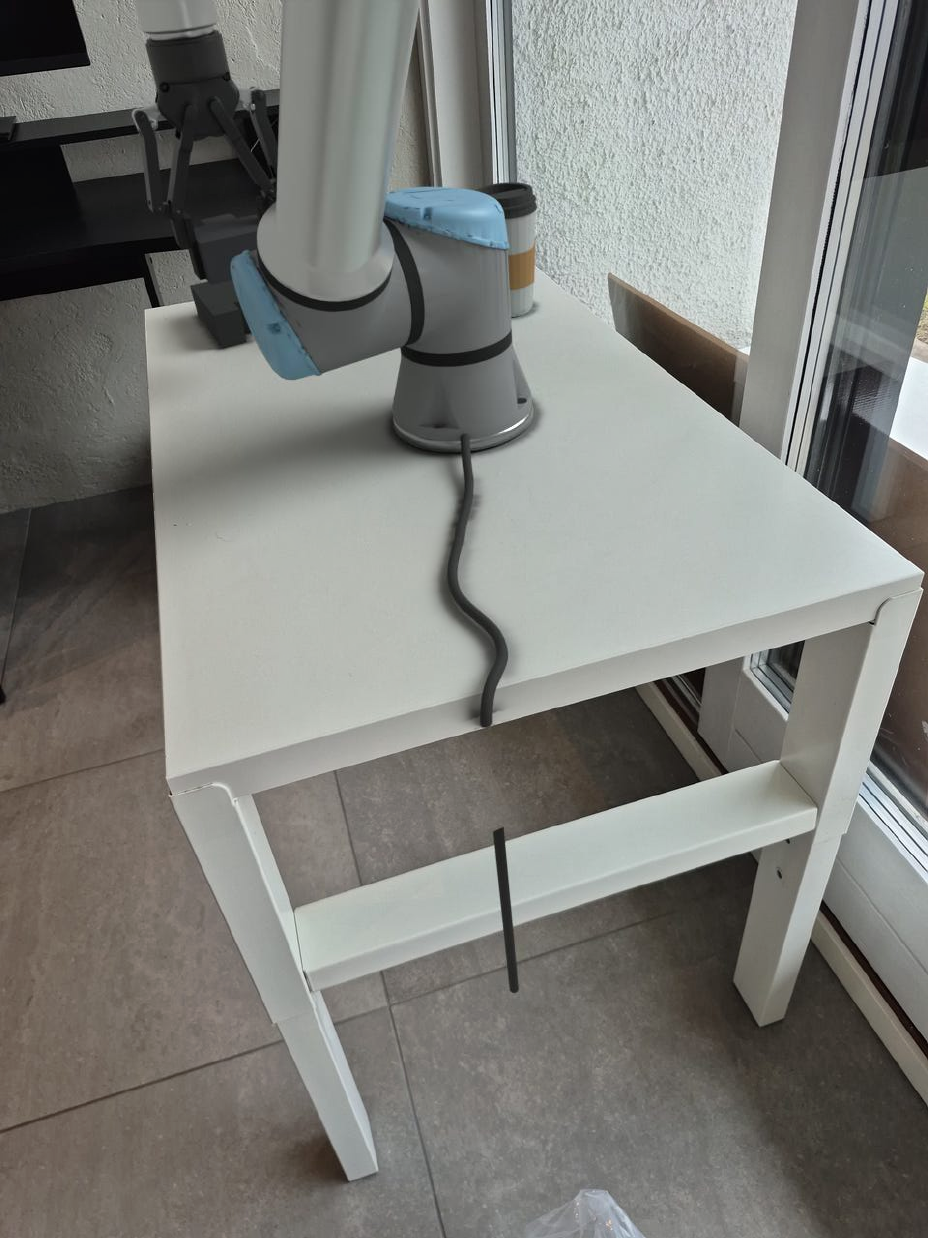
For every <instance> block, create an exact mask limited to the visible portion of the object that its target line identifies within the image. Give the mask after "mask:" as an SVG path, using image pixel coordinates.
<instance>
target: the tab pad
mask: <svg viewBox="0 0 928 1238" xmlns="http://www.w3.org/2000/svg"><path fill="white" fill-rule="evenodd" d="M260 220H261V219H260V218H259V215H257V214H253V215H248V216H243V217H238V218H236V216H234V215H233V214H232V213H226V214H222V215H217V216H212V217H207V218H202V219H201V220H200V222H201V226H197V227H194V231H195V235H196V239H197V244H198V248H199V252H200V256H201V259H202V263H203V267H204V271H205V275H206V279H205V280H206V282H207V281H208V282H209V283H210V285H213V284H218V283H222V282H226V281H230V280H232V275H231V261H232V259H233V258H234V257H235V256H237V255H239V254H242V252H243V251H245V250H249V251H254V250H257V231H258V226H259V222H260Z"/></svg>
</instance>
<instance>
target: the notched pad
mask: <svg viewBox="0 0 928 1238" xmlns="http://www.w3.org/2000/svg"><path fill="white" fill-rule="evenodd" d="M189 287H190V292H191V296H192V299H193V302H194V304H195V309H196V313H197V316H198V318H199V319H200V321H201V322H202V323H203V325H204V326H205V327H206V329H207V330H208V332H209V333H210V335H211V336H212V337H213V339H214V340H215V341H216V342H217V345H219V347H220V348H221V349H225V348H230V347H235V346H237V345H241V344H245V343H247V342H248V340H247V334H250V333H251V334H252V332H251V330H250V328H249V326H248V323H247V321H246V319H245V316H244V314H243V311H242V308H241V306H240V303H239V300H238V297H237V294H236V291H235V288H234V284H233V280H230V281H226V282H222V283H218V284H213V285H210V283H209V282H208V281H207V280H206V281H203V282H200V283H195V284H194V283H193V284H191V285H189Z"/></svg>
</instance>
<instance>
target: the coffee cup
mask: <svg viewBox="0 0 928 1238" xmlns="http://www.w3.org/2000/svg"><path fill="white" fill-rule="evenodd" d="M475 191H478V192H481V193H484V194H487V195H489V196H491V197H493V198H494V199H495V200H497V201H498V202H499V204H500V205H501V207H502V209H503V211H504V217H505V223H506V230H507V237H508V242H509V249H508V266H509V285H510V304H511V318H515V317H520V316H523V315H525V314H528V312H530V311H531V309H532V306H533V304H534V284H535V271H536V270H535V269H536V267H535V266H536V265H535V264H536V212H537V210H538V205H537V197H536V195H535V194H534V191H533V186H531V184H527V183H524V182H515V181H513V182H512V181H510V182H497V183H491V184H488V185H483V186H481V187H479V188H477V189H475Z"/></svg>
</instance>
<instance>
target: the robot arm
mask: <svg viewBox="0 0 928 1238" xmlns="http://www.w3.org/2000/svg"><path fill="white" fill-rule="evenodd" d="M133 3H134V7H135V11H136V15H137V19H138V22H139V27H140V30H141V32H143V33H144V34H147V35H148V36H149V38H147V39H146V40H145V43H144V46H145V50H146V53H147V58H148V62H149V65H150V69H151V73H152V77H153V81H154V84H155V89H156V90H155V99H154V102H153V103H150V104H148V105H145V106H143V107H141V108H140V107H133V108H131V110H130V116H131V119H132V121H133V123H134V125H135V128H136V130H137V132H138V134H139V141H140V143H139V144H140V152H141V159H142V167H143V175H144V185H145V192H146V201H147V206H148V209H149V211H151V213H152V214H153V215H154V216H155V217H159V218H160V217H164V218H168V219H169V221H170V224H171V229H172V232H173V235H174V236H173V237H174V239H175V242H176V244H177V245H178V246H179V247H180V249H181V251H183V250H188V254H189V257H190V261H191V265H192V269H193V272H194V273H193V274H194V275H195V276H196V277H197V278H198V280H199V281H203V280H206V275H205V271H204V267H203V263H202V259H201V256H200V252H199V248H198V244H197V239H196V235H195V231H194V228H195V227H194V225H193V224H194V223H193V220H192V217H191V216H190V215H189V214H188V213H187V212H186V211H184V207H185V201H186V195H187V194H186V193H187V184H188V177H189V168H190V162H191V155H192V151H193V148H194V142H199V141H203V140H204V139H206V138H208V137H211V138H219V137H224V139H225V140H226V141H227V143H228V144H229V146H230V147H231V149H232V151H233V152H234V153H235V155H236V156H237V158H238V160H239V161H240V163H241V164H242V166H243V167H244V169H245V170H246V171H247V173H248V175H249V176H250V178H251V180H252V181H253V182H254V184H255V185H256V187H257V189H258V190H259V192H260V193H261V195H258V196H254V200H255V204H256V209H257V214H258V217H259V218H260V219H261V220H260V222H259V226H258V231H257V250H254V251H249V250H245V251H243V252H242V254H239V255H237V256H235V257H234V258H233V259H232V261H231V275H232V280H233V284H234V288H235V291H236V294H237V297H238V300H239V303H240V306H241V308H242V311H243V314H244V316H245V319H246V321H247V323H248V326H249V328H250V330H251V335H252V337H253V339H254V341H255V343H256V345H257V347H258V348H259V350H260V352H261V354H262V356H263V358H264V360H265V361H266V363H267V364H268V366H269V367H270V369H271V370H272V371H273V372H274V373H275V374H276V375H277V376H278V377H280V378H281V379H284V380H286V381H297V380H301V379H304V378H308V377H313V376H315V377H321V376H322V375H323V374H325V373H328V372H331V371H334V370H337V369H341V368H343V367H346V366H350V365H352V364H356V363H358V362H362V361H364V360H367V359H370V358H373V357H376V356H379V355H383V354H385V353H388V352H391V351H395V350H397V349H400V362H399V363H400V364H399V370H398V374H397V379H396V385H395V390H394V395H393V401H392V412H391V413H392V422H393V428H394V432H395V434H396V435H397V436H398V437H399V438H400V439H401V440H402V441H404V442H405V443H407V444H409V445H411V446H413V447H416V448H419V449H422V450H426V451H431V452H439V453H440V452H441V453H461V462H462V472H463V481H464V482H463V483H464V488H463V497H462V503H461V508H460V511H459V514H458V519H457V523H456V527H455V533H454V538H453V543H452V547H451V550H450V554H449V557H448V561H447V562H448V563H447V568H446V569H447V570H446V579H447V586H448V589H449V592H450V594H451V596H452V599H453V600H454V602H455V603H456V605H457V606H458V607H459V608H460V609H461V610H462V612H463V613H465V614H466V615H467V616H468V617H469V618H471V619H472V620H473V621H474V622H475V623H476V624H478V625H479V626H480V627H481V628H482V629H483V630H484V631H485V632H486V633H487V634H488V635H489V637H490V638H491V640H492V642H493V645H494V647H495V653H496V654H495V655H496V656H495V657H496V658H495V661H494V664H493V666H492V668H491V670H490V672H489V674H488V676H487V678H486V681H485V683H484V686H483V690H482V692H481V693H482V694H481V698H480V710H479V711H480V712H479V723H480V726H481V727H482V728H485V729H488V728H490V727H492V725H493V712H494V711H493V708H494V698H495V694H496V690H497V687H498V685H499V682H500V681H501V678H502V676H503V674H504V673H505V670H506V668H507V665H508V662H509V661H508V660H509V649H508V648H509V647H508V645H507V642H506V639H505V637H504V635H503V633H502V632H501V630H500V628H499V627H498V625H496V623H494V622H493V620H491V619H490V618H489V617H488V616H487V615H486V614H485V613H483V612H482V611H481V610H480V609H478V607H476V606H475V605H474V604H473V603H471V601H470V600H469V599H468V598H467V597H466V596H465V595H464V593H463V592H462V589H461V587H460V583H459V576H458V575H459V574H458V573H459V572H458V570H459V563H460V558H461V554H462V551H463V546H464V542H465V536H466V530H467V524H468V520H469V516H470V512H471V509H472V504H473V498H474V487H475V485H474V484H475V483H474V473H473V465H472V464H473V463H472V454H471V452H473V451H474V452H475V451H479V450H480V451H481V450H484V449H488V448H492V447H495V446H499V445H501V444H504V443H506V442H508V441H511V440H512V439H514V438H516V437H517V436H519V435H521V434H522V433H523V432H524V431H525V430H526V429H528V427H529V426H530V424H531V423H532V421H533V418H534V401H533V396H532V392H531V388H530V386H529V383H528V381H527V379H526V375H525V373H524V370H523V369H522V366H521V363H520V360H519V358H518V355H517V353H516V351H515V348H514V343H513V327H512V326H513V325H512V317H511V304H510V285H509V266H508V249H509V242H508V237H507V230H506V223H505V217H504V211H503V209H502V207H501V205H500V204H499V202H498V201H497V200H495V199H494V198H493V197H491V196H489V195H487V194H484V193H481V192H478V191H476V190H473V189H469V188H468V189H467V188H459V187H451V186H450V187H449V186H417V187H416V186H415V187H406V188H400V189H394V190H392V191H388V190H389V185H390V180H391V172H392V168H393V162H394V156H395V150H396V144H397V137H398V132H399V127H400V121H401V117H402V116H401V115H402V110H403V103H404V97H405V91H406V86H407V80H408V74H409V67H410V62H411V57H412V51H413V45H414V39H415V33H416V29H417V21H418V15H419V10H420V3H421V0H281V29H280V31H281V33H280V37H281V38H280V65H279V66H280V68H279V69H280V70H279V74H280V75H279V98H278V99H279V101H278V102H279V103H278V105H279V106H278V134H277V135H278V136H277V140H276V136H275V134H274V131H273V129H272V125H271V122H270V119H269V116H268V110H267V109H268V108H267V94H266V92H265V91H264V90H263V89H261V88H258V87H256V86H253V85H252V86H250V87H249V88H238V86H237V85H236V84H235V82H234V80H233V78H232V76H231V70H230V65H229V61H228V56H227V52H226V47H225V43H224V37H223V35H222V33H220V31H219V30H218V29H215V26H216V25H217V24H218V22H219V16H218V11H217V10H218V9H217V6H216V1H215V0H133ZM239 102H241V103H242V106H243V108H244V110H245V111H247V112H249V116H250V119H251V122H252V124H253V128H254V130H255V133H256V136H257V138H258V141H259V143H260V147H261V149H262V152H263V154H264V157H265V160H266V163H267V165H268V169H269V171H270V173H271V176H272V178H271V179H269V177H268V176H267V174H266V172H265V171H264V170H263V168H262V166H261V164H260V163H259V162H258V160H257V159H256V157H255V155H254V154H253V153H252V151H251V149H250V148H249V146H248V145H247V143H246V142H245V140H244V138H243V135H242V134H241V133H240V131H239V130H238V127H237V126H236V124H235V123H234V121H233V118H234V116H235V113H236V111H237V107H238V105H239ZM160 116H162V117H163V118H164V119H165V120H166V121H167V122H168V123H169V124H170V125H171V126H172V127H173V128H174V132H173V142H172V143H173V149H172V158H171V165H170V166H171V167H170V174H169V183H168V189H167V190H168V192H167V200H166V201H164V195H163V185H162V177H161V168H160V158H159V151H158V142H157V137H156V133H155V131H157V130H158V128H159V122H158V120H159V117H160ZM492 839H493V847H494V857H495V866H496V876H497V877H496V878H497V883H498V886H497V887H498V894H499V895H498V896H499V904H500V913H501V921H502V922H501V923H502V931H503V940H504V941H503V942H504V950H505V958H506V959H505V960H506V967H507V977H508V978H507V979H508V987H509V992H511V993H512V994H516V993H518V992H519V991H520V985H519V975H518V974H519V973H518V964H517V963H518V962H517V954H516V941H515V933H514V932H515V931H514V922H513V921H514V920H513V911H512V900H511V889H510V878H509V870H508V867H509V866H508V859H507V858H508V857H507V847H506V846H507V845H506V835H505V826H501V827H499V828H497V829H495V830H493V831H492Z"/></svg>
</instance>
